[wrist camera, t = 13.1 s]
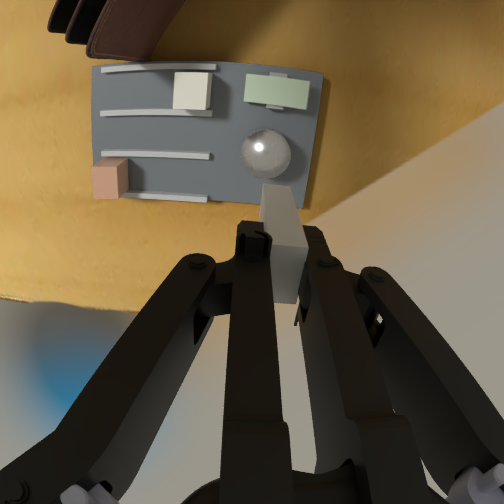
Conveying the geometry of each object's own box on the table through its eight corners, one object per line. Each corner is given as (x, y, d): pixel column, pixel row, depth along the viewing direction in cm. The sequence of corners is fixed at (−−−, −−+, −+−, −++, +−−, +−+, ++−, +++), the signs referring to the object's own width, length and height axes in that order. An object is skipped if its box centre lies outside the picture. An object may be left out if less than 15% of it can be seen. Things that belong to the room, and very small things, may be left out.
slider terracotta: (105, 187, 33) (93, 198, 31) (103, 158, 32) (90, 166, 29) (128, 188, 34) (118, 199, 31) (127, 158, 32) (116, 166, 29)
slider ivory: (180, 105, 29) (172, 109, 26) (182, 72, 27) (174, 72, 24) (209, 106, 29) (205, 109, 26) (212, 73, 27) (208, 72, 25)
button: (240, 163, 33) (238, 176, 30) (244, 121, 31) (242, 128, 27) (283, 167, 34) (287, 181, 30) (288, 126, 31) (294, 133, 27)
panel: (102, 187, 36) (86, 202, 32) (100, 65, 28) (81, 66, 24) (300, 201, 37) (305, 218, 33) (319, 73, 29) (329, 73, 25)
